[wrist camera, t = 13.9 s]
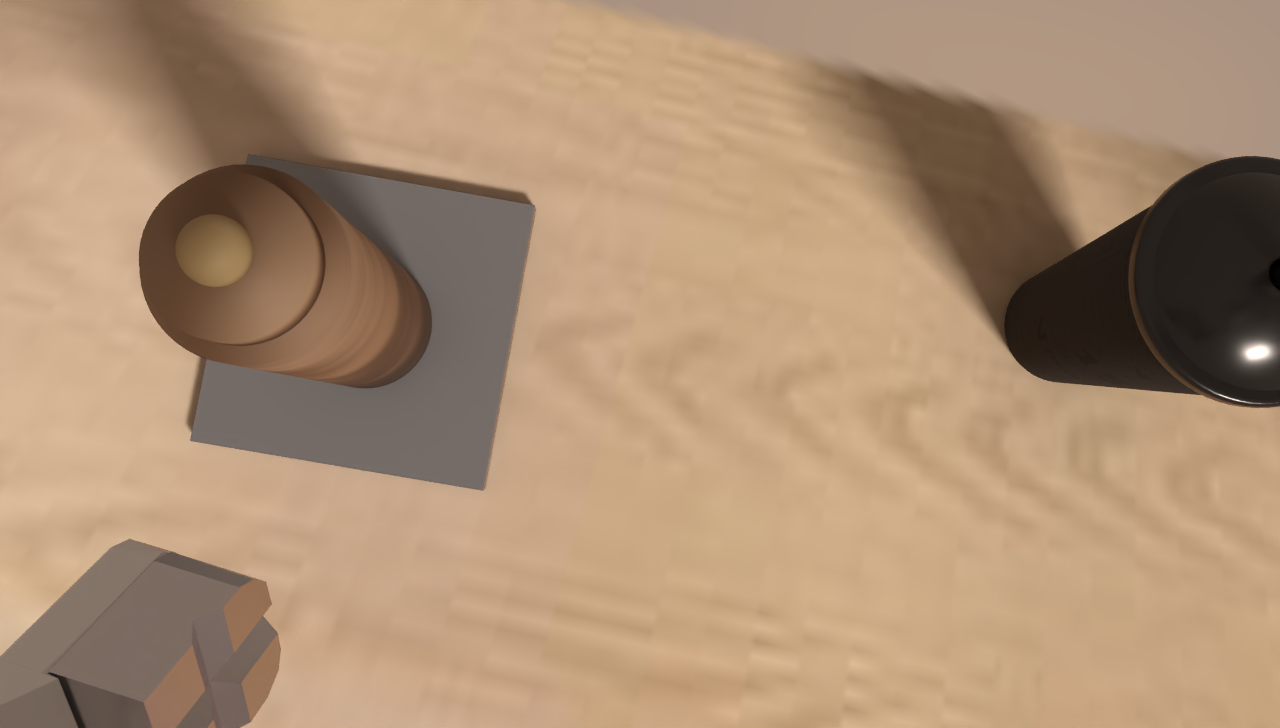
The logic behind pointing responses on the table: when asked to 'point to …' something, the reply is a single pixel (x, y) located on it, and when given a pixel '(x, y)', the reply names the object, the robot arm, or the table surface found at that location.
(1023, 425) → the table surface
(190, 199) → the pepper mill
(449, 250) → the trivet
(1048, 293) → the drinking cup
